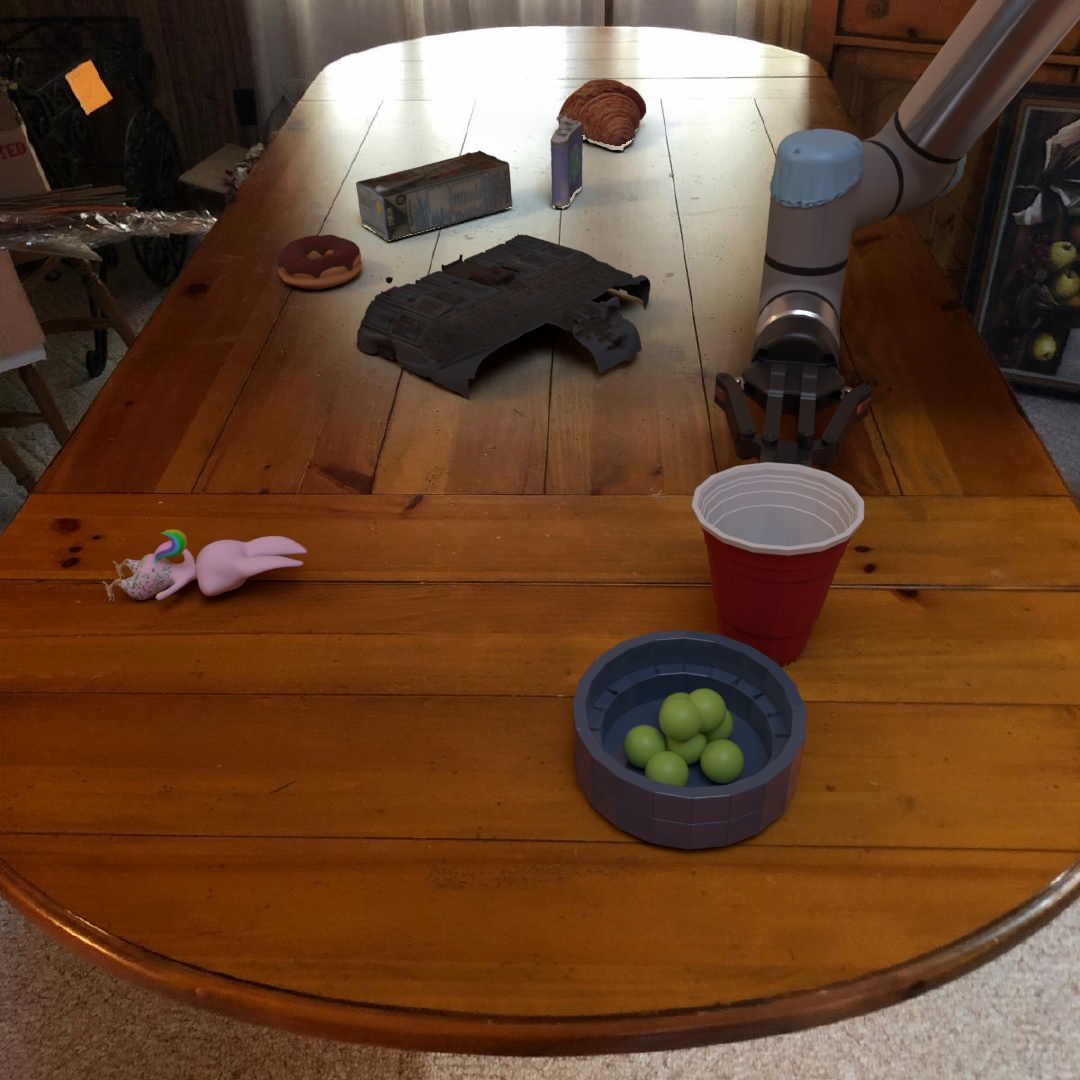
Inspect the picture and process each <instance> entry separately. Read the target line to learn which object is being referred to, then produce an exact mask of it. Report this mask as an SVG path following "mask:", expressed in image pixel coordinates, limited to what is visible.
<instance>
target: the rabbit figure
mask: <svg viewBox="0 0 1080 1080" xmlns="http://www.w3.org/2000/svg"><path fill="white" fill-rule="evenodd" d="M161 534H162V535H164V536H166V537H167V538H168V539H169V540H168V541H165V542H164V543H161V544H160V545H159V546H158V547H157V548H156V550H155V551H154V553H148V554H146V555H144V556H143V557H142V558H141V559H139V560H137V559H136V560H135V559H131V558H125V559H124V560H123V562H121V563H120V564H119V563H117V562H116V561H114V560H113V561H112V563H113V564H114V565H115V569H116V571H117V575H118V577H119V578H116V579H115V580H114V581H113V582H112V583H110V584H109V583H107V582H106V581H102V584H104V585H105V587H104V589H105V591H106V593H107V597H108V598H109V599H108V601H109V602H111V600H112V602H114V601H116V600H115V599H116V598H115V591H114V588H115V587H116V586H118V587H119V588H121V590H123V591H124V592H125V593H126V594H127V595H128V596H129V597H131V598H132V599H134V600H137V601H145V600H148V599H150V598H152V597H155V599H156V600H157V601H163V600H165V599H166V598H168V597H170V596H171V595H173V594H174V593H176V592H178V591H179V590H181V589H182V588H183V587H185V586H186V585H188V584H189V583H191V582H193V581H194V580H197V582H198V587H199V589H200V591H201V593H202V594H204V595H205V596H207V597H216V596H218V595H220V594H223V593H225V592H230V591H232V590H235V589H238V588H239V587H241V586H242V585H244V583H245V582H246V581H247V579H248V578H250V577H253V576H255V575H259V574H261V573H264V572H267V571H270V570H274V569H280V568H295V567H300V566H303V565H304V562H303V560H302V561H301V560H297V559H294V558H289V557H286V556H290V555H305V554H307V553H308V551H307V549H306V548H305V547H304V546H303V545H301V544H299V543H298V542H296V541H295V540H293V539H291V538H288V537H285V536H282V535H269V536H267V535H266V536H261V537H258V538H255V539H252V540H250V541H240V540H235V539H221V540H216V541H213V542H211V543H209V544H207V545H206V546H204V547H202V549H201V550H200V551H199V553H198V555H197V557H196V559H195V558H194V555H193V554H192V553H191V552H190V550H188V549H187V546H188V538H187V535H186V534H185V533H184V532H183V531H181V530H179V529H167V530H164V531H163V532H161V533H160V535H161ZM179 555H182V556H183V558H184V560H183V562H180V563H174V562H171V561H170V560H168V559H167V558H173V557H177V556H179ZM125 567H127V568H129V570H130V571H131V573H132V574H133V575H131V576H130V577H128V578H126V576H125V573H126V572H125V570H124V568H125ZM122 577H123V578H122Z"/></svg>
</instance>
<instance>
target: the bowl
mask: <svg viewBox="0 0 1080 1080" xmlns="http://www.w3.org/2000/svg"><path fill="white" fill-rule="evenodd" d="M698 689H710V690H713V691H715V692H716V693H718V694H719V695H720V696H721V697H722V699H723V700H724V702H725V705H726V709H727V710H728V711H729V712H730V714H731V716H732V718H733V731H732V733H731V735H730V737H729V738H728V739H727V740H729V741H731V742H733V743H735V744H736V745H737V746H738V747H739V748H740V750H741V751H742V753H743V756H744V767H743V770H742V773H741V774H740V776H739V777H738V778H737V779H735V780H734V781H732V782H729V783H717V782H714V781H712V780H710V779H709V778H708V777H707V776H706V775H705V774H704V772H703V771H702V768H701V764H700V760H699V761H698V762H696V763H694V764H690V765H687V766H688V770H689V778H688V781H687V784H686V786H685V787H683V786H677V785H671V784H665V783H658V782H656V781H654V780H651V779H649V778H647V777H645V768H639V767H636V766H634V765H633V764H631V763H630V762H629V761H628V760H627V758H626V756H625V754H624V750H623V742H624V739H625V737H626V735H627V733H628V732H629V731H630V730H631V729H633V728H634V727H636V726H640V725H649V726H652V727H654V728H656V729H657V730H659V731H660V732H661V734H662V735H663V737H664V739H665V734H664V733H663V731H662V730H661V728H660V725H659V713H660V709H661V706H662V703H663V702H664V700H665V699H666V698H667V697H668V696H670V695H672V694H674V693H687V694H690V693H692V692H693V691H695V690H698ZM571 704H572V705H571V706H572V707H571V708H572V709H571V711H572V712H571V714H572V757H573V762H574V763H573V764H574V771H575V776H576V781H577V782H578V784H579V786H580V789H582V791H583V793H584V794H585V796H586V798H587V801H589V804H590V805H591V806H592V807H593V808H594V809H595V810H596V811H597V812H598V813H599V814H601V815H602V816H603V817H604V818H605V819H607V820H608V822H610V823H611V824H612V825H613V826H615V827H616V828H617V829H619V830H621V831H623V832H625V833H628V834H630V835H633V836H635V837H637V838H639V839H641V840H643V841H646V842H648V843H651V844H654V845H660V846H665V847H670V848H671V847H672V848H678V849H683V850H696V849H697V850H698V849H708V848H719V847H726V846H730V845H732V844H736V843H738V842H741V841H743V840H745V839H748V838H750V837H754V836H756V835H758V834H760V833H762V831H764V829H766V828H768V826H770V825H771V824H772V823H773V822H775V820H777V819H778V818H779V817H780V816H781V815H783V814H784V812H785V811H786V808H787V807H788V805H789V803H790V801H791V799H792V797H793V796H794V793H795V791H796V790H797V787H798V782H799V776H800V770H801V765H802V759H803V751H804V746H805V741H806V730H807V729H806V728H807V727H806V726H807V710H806V707H805V704H804V702H803V699H802V697H801V694H800V691H799V689H798V686H797V684H796V683H795V682H794V680H793V679H792V678H791V677H790V675H788V674H787V673H786V672H785V671H784V669H783V668H782V666H781V667H780V666H779V665H778V664H777V663H776V662H775V661H773V660H771V659H770V658H768V657H767V656H765V655H764V654H762V653H761V652H759V651H758V650H756V649H755V648H753V647H751V646H749V645H747V644H744V643H741V642H739V641H736V640H733V639H730V638H727V637H725V636H722V635H720V634H716V633H710V632H702V631H694V630H687V629H678V630H667V631H666V630H665V631H654V632H648V633H644V634H642V635H639V636H635V637H632V638H629V639H626V640H622V641H621V642H619V643H618V644H615V645H614V646H613V647H611V648H609V649H608V650H607V651H605V652H603V653H602V654H600V655H598V656H597V657H596V658H595V659H594V661H592V662H591V664H590V665H589V666H588V668H587V669H586V670H585V671H584V672H583V674H582V675H581V676H580V678H579V679H578V683H577V686H576V689H575V693H574V696H573V700H572V702H571Z"/></svg>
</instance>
